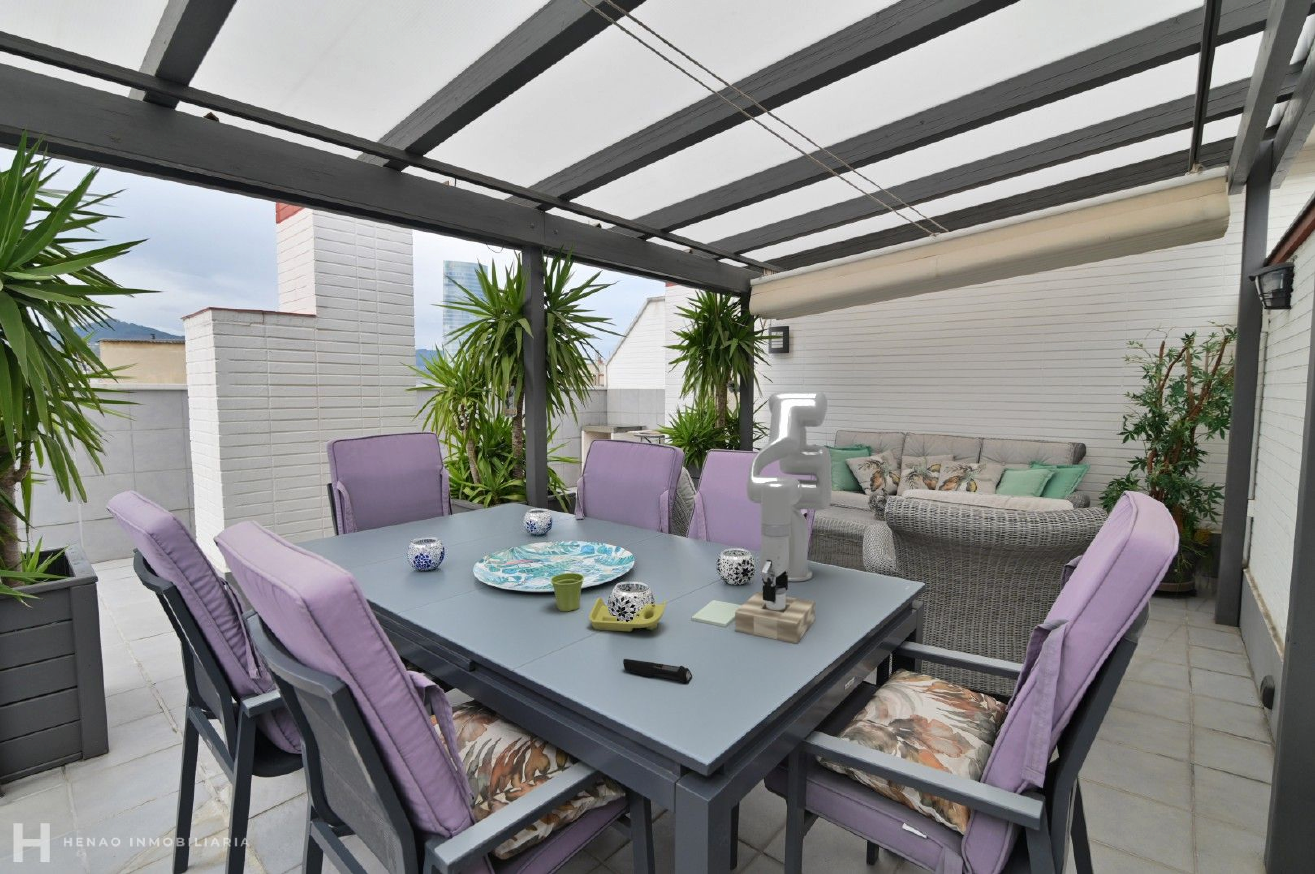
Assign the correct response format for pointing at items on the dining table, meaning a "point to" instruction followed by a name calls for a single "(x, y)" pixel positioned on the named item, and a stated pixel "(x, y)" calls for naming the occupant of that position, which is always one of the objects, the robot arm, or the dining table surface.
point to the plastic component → (607, 622)
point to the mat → (717, 613)
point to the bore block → (775, 619)
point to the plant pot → (567, 590)
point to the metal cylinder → (778, 600)
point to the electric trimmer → (658, 670)
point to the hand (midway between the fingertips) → (775, 594)
